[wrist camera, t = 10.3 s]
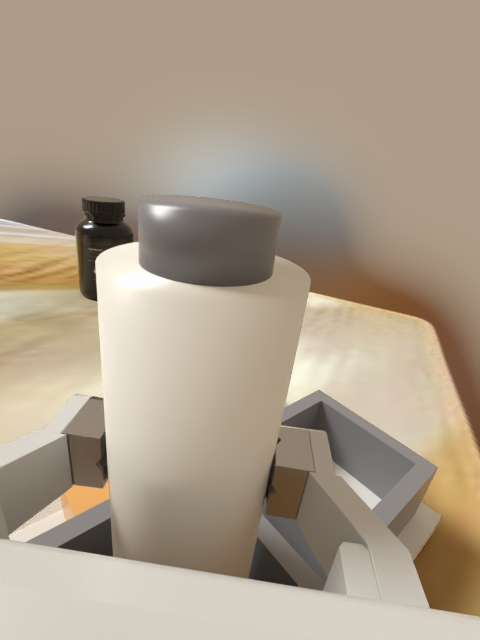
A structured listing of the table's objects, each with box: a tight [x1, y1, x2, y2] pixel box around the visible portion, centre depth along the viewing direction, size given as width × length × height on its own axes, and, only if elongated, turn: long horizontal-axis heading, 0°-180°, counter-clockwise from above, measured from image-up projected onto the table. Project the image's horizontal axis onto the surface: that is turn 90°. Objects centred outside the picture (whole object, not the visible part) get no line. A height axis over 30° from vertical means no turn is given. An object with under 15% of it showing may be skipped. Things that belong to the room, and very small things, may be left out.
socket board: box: [9, 390, 442, 591], centre depth 17 cm, size 12×19×5 cm, turn 130°
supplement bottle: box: [75, 197, 134, 300], centre depth 44 cm, size 7×7×12 cm
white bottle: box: [95, 195, 311, 579], centre depth 10 cm, size 4×4×13 cm
